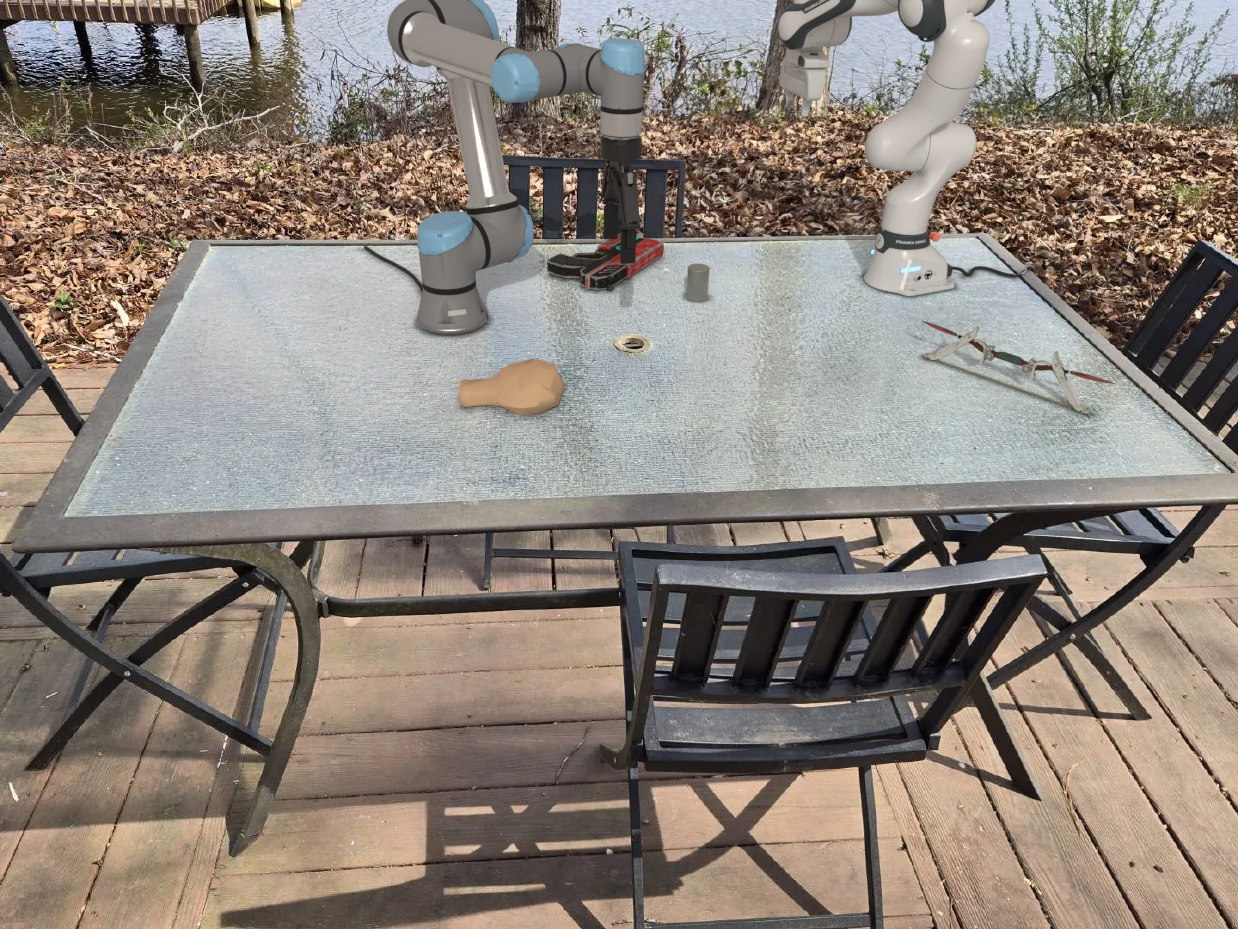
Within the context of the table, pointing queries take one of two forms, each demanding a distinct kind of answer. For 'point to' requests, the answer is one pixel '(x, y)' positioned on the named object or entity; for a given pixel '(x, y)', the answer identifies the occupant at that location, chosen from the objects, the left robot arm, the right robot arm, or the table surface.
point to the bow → (1026, 366)
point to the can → (697, 282)
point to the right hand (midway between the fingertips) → (796, 111)
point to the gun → (605, 263)
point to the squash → (516, 388)
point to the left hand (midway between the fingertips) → (618, 250)
